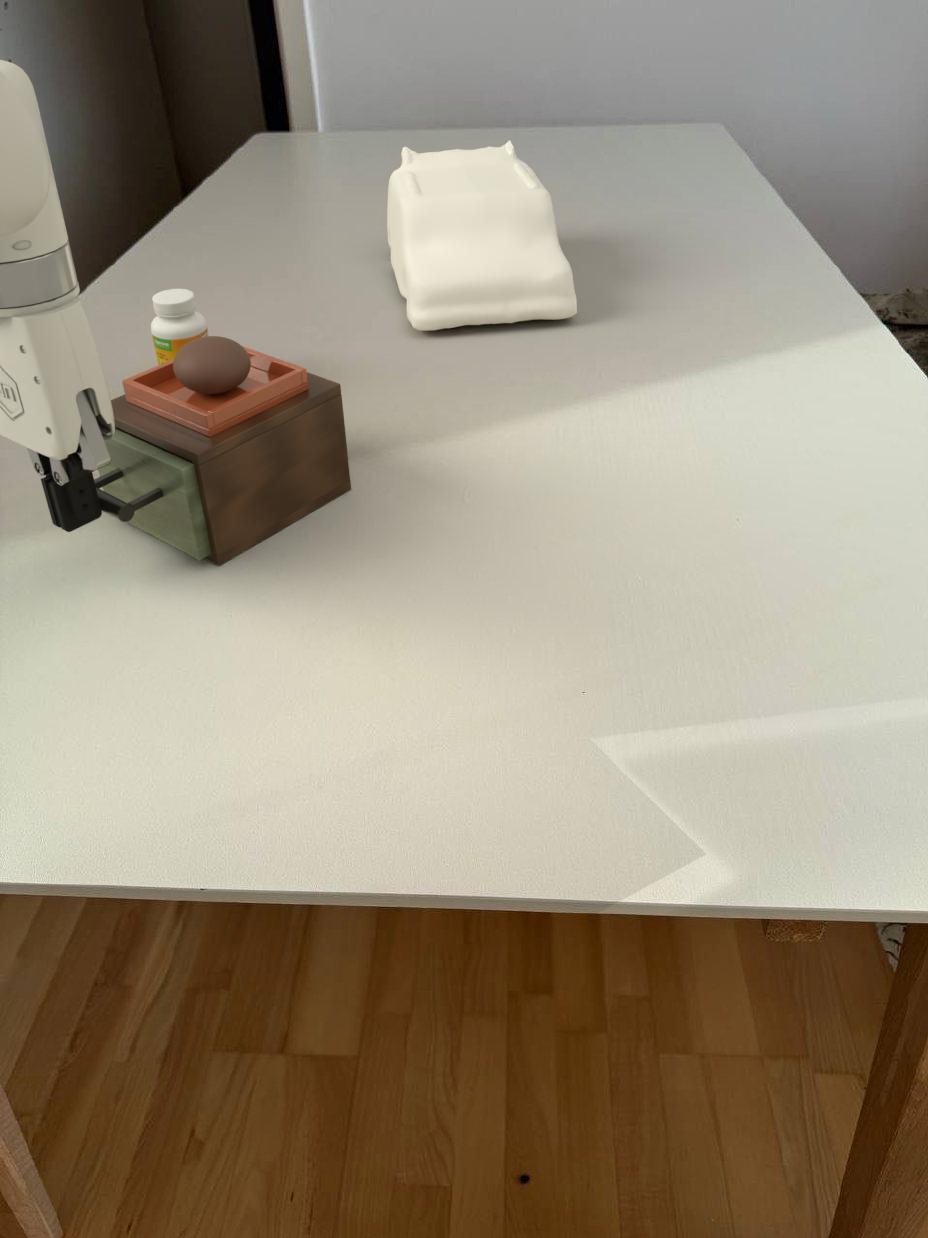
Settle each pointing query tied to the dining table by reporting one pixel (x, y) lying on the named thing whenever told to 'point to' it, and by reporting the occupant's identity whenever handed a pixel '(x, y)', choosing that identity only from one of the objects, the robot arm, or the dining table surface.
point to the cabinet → (257, 464)
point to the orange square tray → (216, 411)
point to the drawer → (153, 493)
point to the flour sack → (475, 240)
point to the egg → (211, 365)
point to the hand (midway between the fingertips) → (78, 521)
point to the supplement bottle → (175, 322)
